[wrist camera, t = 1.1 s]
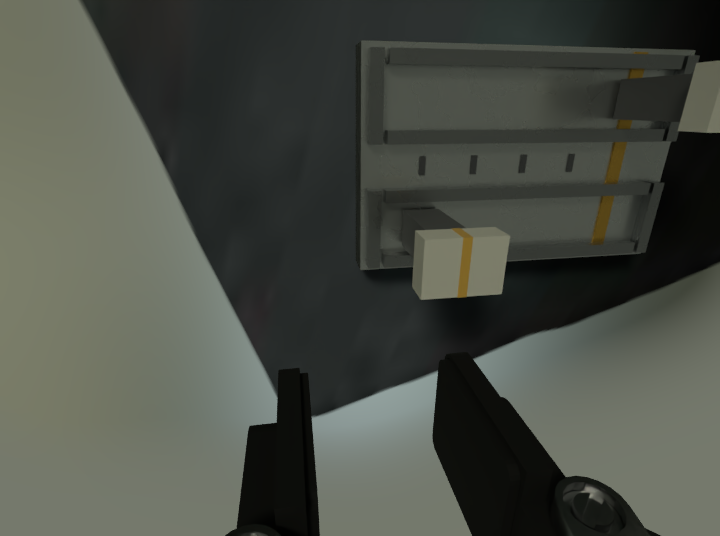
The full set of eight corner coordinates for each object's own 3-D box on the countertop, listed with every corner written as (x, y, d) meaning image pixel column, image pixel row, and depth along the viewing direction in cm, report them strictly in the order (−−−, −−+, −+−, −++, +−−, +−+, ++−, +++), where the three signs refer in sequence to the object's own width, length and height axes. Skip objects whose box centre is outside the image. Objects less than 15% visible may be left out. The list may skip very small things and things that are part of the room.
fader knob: (388, 204, 26) (425, 239, 20) (453, 202, 27) (510, 235, 20) (387, 251, 28) (420, 300, 21) (448, 248, 28) (501, 294, 21)
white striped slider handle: (608, 71, 26) (729, 58, 19) (669, 72, 26) (807, 61, 19) (597, 126, 27) (706, 133, 20) (655, 125, 28) (780, 132, 21)
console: (355, 45, 25) (363, 38, 22) (669, 53, 28) (707, 48, 26) (355, 259, 30) (362, 274, 27) (620, 245, 33) (648, 257, 31)
